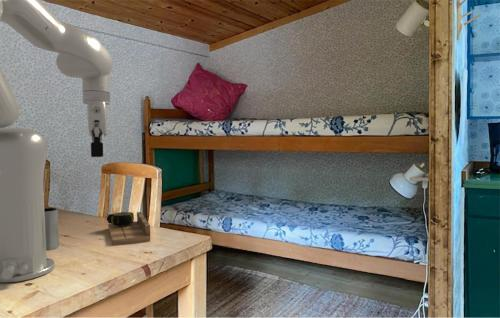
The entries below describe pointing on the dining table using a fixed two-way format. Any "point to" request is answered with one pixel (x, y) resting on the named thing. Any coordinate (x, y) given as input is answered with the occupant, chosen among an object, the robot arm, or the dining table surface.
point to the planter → (51, 228)
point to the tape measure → (121, 218)
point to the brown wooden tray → (130, 231)
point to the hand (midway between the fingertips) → (97, 156)
